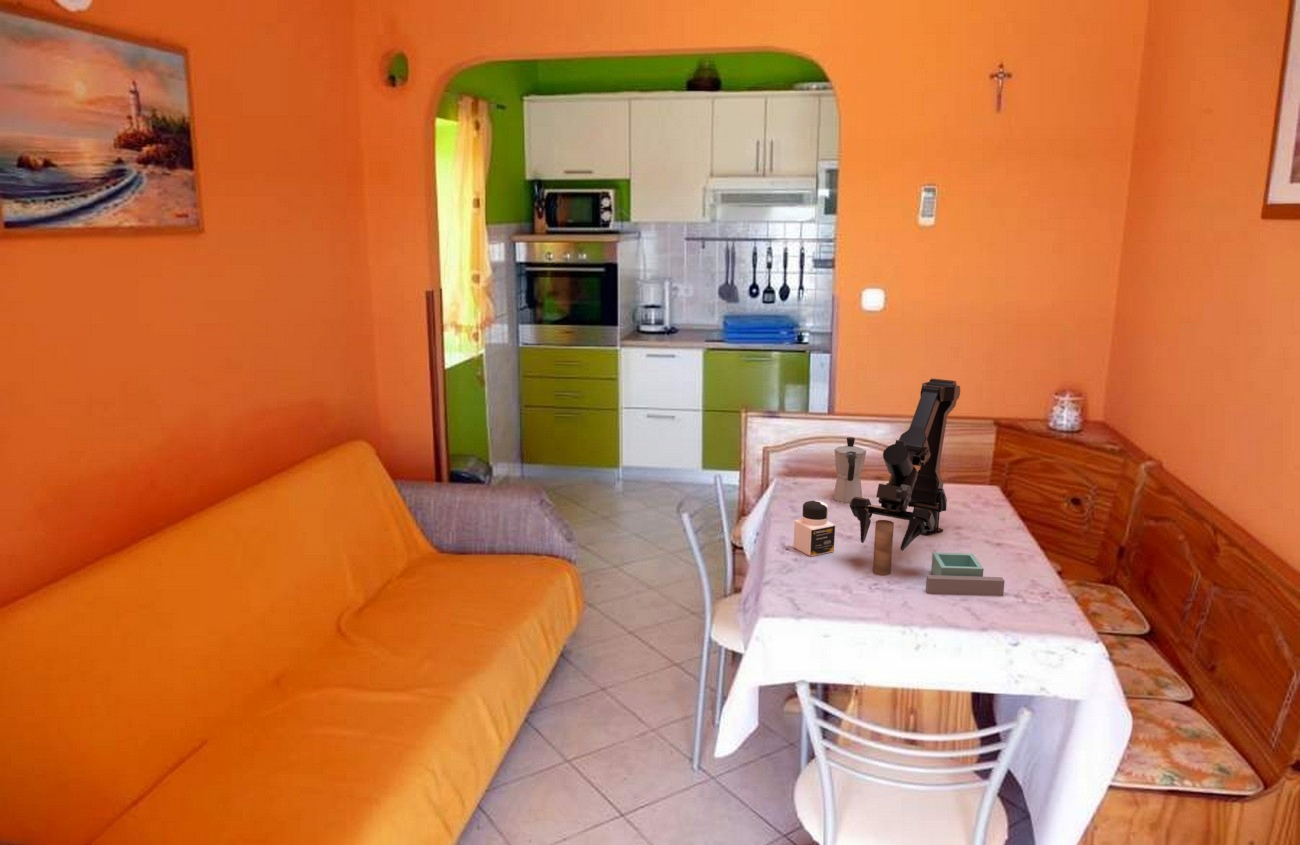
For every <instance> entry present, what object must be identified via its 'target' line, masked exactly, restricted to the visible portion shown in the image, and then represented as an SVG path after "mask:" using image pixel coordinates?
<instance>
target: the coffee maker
mask: <svg viewBox="0 0 1300 845" xmlns="http://www.w3.org/2000/svg"><path fill="white" fill-rule="evenodd" d="M855 441H856V438H855V437H852V436H849V437H846V443H847V445H842V446H838V447H836V448H835V449H834V458H835V459H834V460H835V470H836V472H837V477H836V482H835V485H834V492H833V495H832V498H834V499H833V501H835V500H837V501H836V502H838V501H839V502H838V503H841V502H843V503H842V504H850V502H851V500H852V499H853V498H854V497H860V498H863V491H862V480H861V474H862V473H863V469H864V464H865V459H866V454H867V450H865V449H864V448H862V447H860V446H855Z"/></svg>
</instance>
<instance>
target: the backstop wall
mask: <svg viewBox="0 0 1300 845" xmlns="http://www.w3.org/2000/svg"><path fill="white" fill-rule="evenodd" d="M925 581H926V582H925V583H926V584H925V592H926V593H927V594H934V595H935V594H936V595H937V594H938V595H967V596H968V595H970V596H993V597H994V596H998V597H999V596H1002V597H1003V596H1004V591H1005V590H1004V589H1005V579H1004V578H1003V577H1002V576H983V577H977V576H944V575H933V574H927V575H926V580H925Z"/></svg>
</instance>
